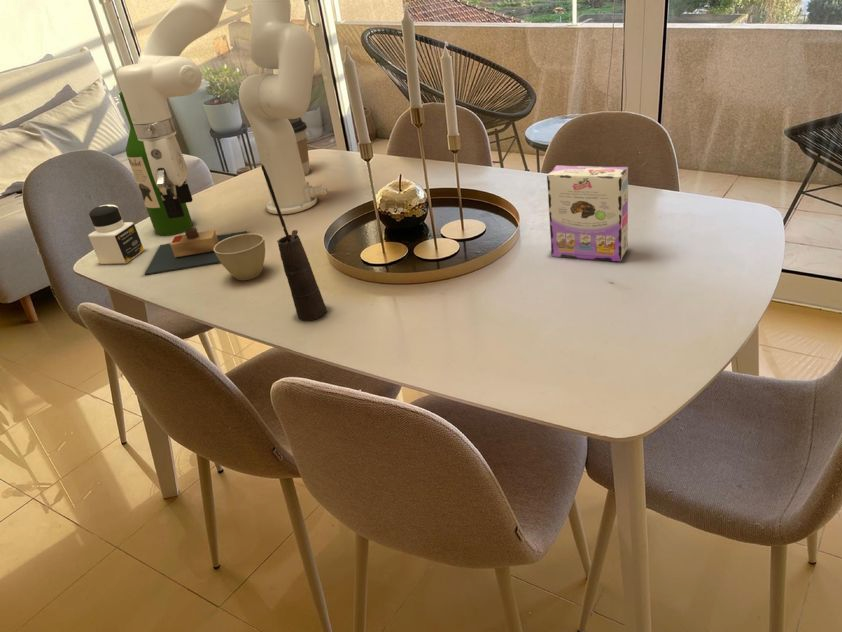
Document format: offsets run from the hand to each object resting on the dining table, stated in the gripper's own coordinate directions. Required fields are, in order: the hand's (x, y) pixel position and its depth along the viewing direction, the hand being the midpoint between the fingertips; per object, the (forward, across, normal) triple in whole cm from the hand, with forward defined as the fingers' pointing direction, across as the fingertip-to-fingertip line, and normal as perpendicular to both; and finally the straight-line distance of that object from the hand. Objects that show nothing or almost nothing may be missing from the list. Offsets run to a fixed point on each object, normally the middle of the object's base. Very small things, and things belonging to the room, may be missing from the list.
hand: (181, 209), depth 150 cm
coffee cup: (+10, +50, -20) cm, 55 cm away
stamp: (+10, +1, 0) cm, 10 cm away
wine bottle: (+10, +20, +8) cm, 24 cm away
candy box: (+10, -33, -80) cm, 88 cm away
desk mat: (+10, +1, 0) cm, 11 cm away
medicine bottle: (+11, +6, +18) cm, 21 cm away
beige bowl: (+11, -16, -14) cm, 24 cm away
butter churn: (+11, -37, -28) cm, 48 cm away
